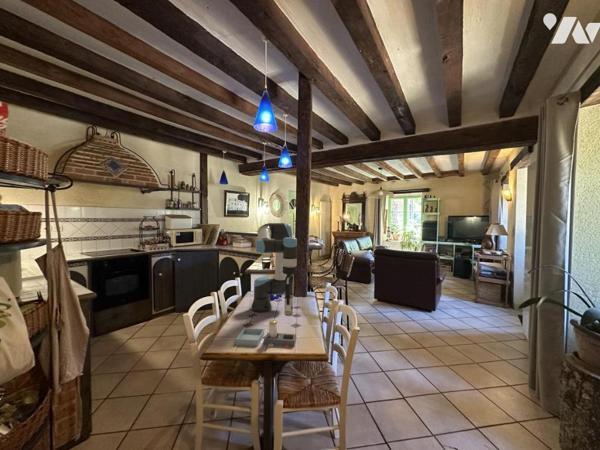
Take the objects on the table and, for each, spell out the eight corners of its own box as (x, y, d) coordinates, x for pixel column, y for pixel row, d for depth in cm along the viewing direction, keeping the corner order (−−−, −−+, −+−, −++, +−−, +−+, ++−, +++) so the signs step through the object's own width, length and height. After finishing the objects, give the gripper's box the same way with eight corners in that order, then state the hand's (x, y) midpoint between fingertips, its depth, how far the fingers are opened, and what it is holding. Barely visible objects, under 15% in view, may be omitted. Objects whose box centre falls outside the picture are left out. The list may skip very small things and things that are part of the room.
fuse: (269, 337, 143) (270, 319, 142) (277, 338, 142) (277, 320, 142) (268, 341, 138) (268, 322, 138) (276, 341, 138) (276, 323, 138)
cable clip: (273, 300, 212) (273, 293, 211) (269, 299, 214) (269, 292, 214) (283, 297, 221) (283, 290, 221) (279, 296, 224) (279, 289, 224)
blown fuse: (285, 312, 142) (285, 294, 141) (293, 313, 141) (293, 295, 141) (283, 315, 137) (284, 297, 137) (292, 316, 137) (292, 297, 137)
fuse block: (267, 337, 145) (267, 332, 145) (296, 339, 143) (296, 334, 143) (263, 345, 135) (263, 340, 135) (294, 347, 134) (294, 342, 134)
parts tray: (244, 333, 150) (244, 327, 150) (264, 334, 149) (264, 329, 149) (235, 344, 136) (235, 338, 136) (257, 345, 135) (258, 340, 135)
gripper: (285, 263, 148) (284, 303, 148) (279, 268, 130) (279, 314, 131) (298, 263, 147) (297, 303, 147) (294, 269, 130) (293, 315, 130)
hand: (288, 308), depth 139 cm, fingers closed on blown fuse, 4 cm apart
